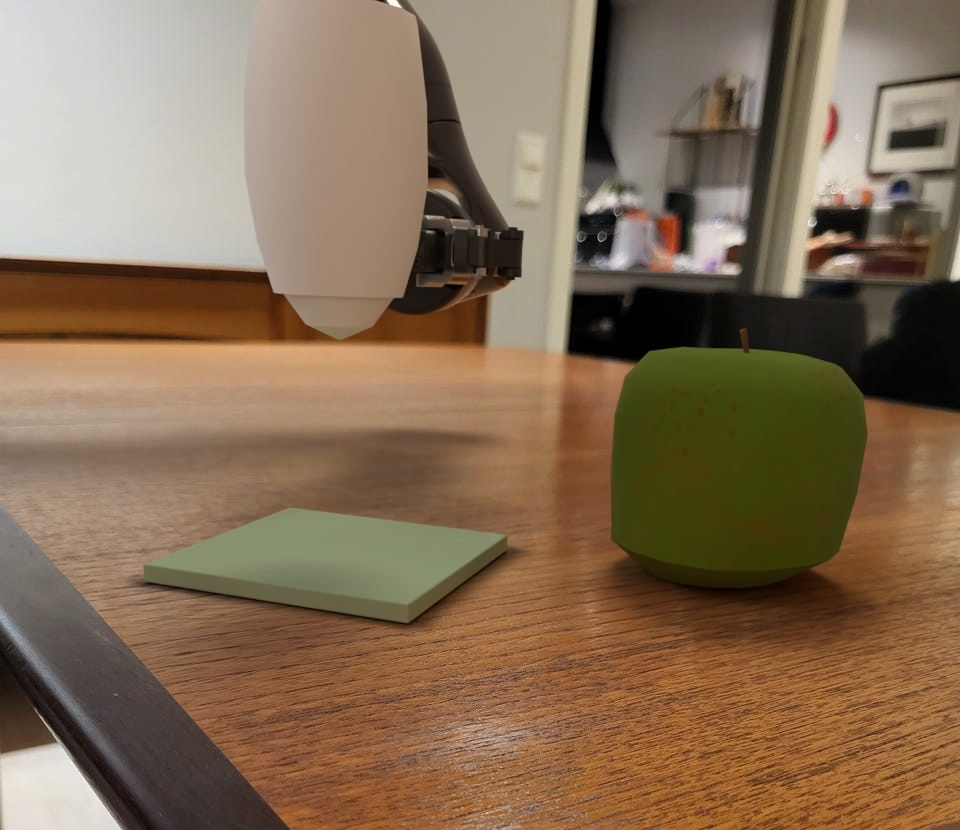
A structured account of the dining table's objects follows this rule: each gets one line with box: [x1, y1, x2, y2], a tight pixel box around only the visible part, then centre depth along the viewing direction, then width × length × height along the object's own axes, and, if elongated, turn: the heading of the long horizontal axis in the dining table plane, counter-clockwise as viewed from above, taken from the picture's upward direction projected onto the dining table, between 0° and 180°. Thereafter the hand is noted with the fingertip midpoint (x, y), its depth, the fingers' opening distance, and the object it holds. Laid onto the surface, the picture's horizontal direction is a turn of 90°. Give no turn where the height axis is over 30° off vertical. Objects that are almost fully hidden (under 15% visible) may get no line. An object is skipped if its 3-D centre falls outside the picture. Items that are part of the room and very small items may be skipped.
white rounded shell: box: [243, 0, 428, 341], centre depth 41 cm, size 7×7×21 cm
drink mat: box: [142, 507, 509, 624], centre depth 45 cm, size 12×12×1 cm
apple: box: [610, 327, 869, 589], centre depth 45 cm, size 11×11×11 cm
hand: (377, 246), depth 50 cm, fingers open, 8 cm apart
